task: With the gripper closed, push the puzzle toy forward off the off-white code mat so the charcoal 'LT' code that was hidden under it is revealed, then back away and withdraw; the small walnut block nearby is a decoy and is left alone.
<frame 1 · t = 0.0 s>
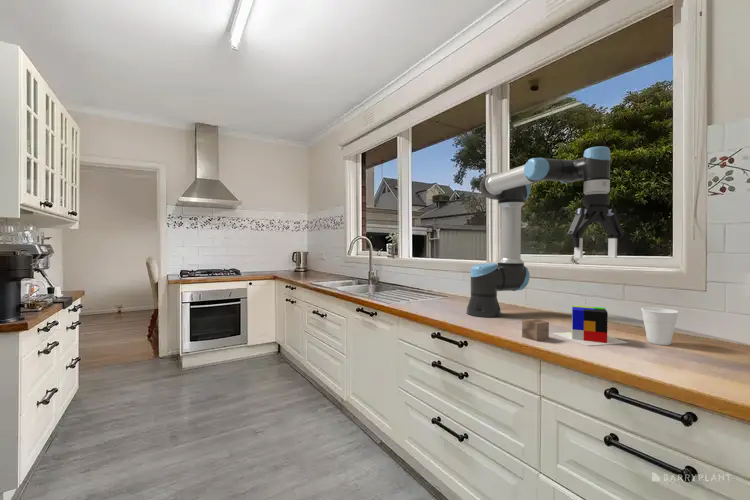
hand: (595, 257, 120), 28 cm above the countertop, fingers open, 13 cm apart
cup: (658, 343, 118), on the countertop
code mat: (588, 338, 124), on the countertop
puzzle toy: (588, 338, 124), resting on code mat
walnut block: (535, 338, 124), on the countertop
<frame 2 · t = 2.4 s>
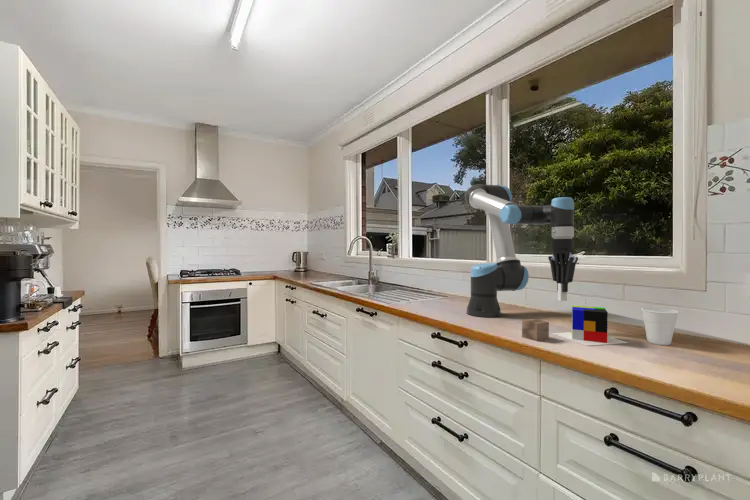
hand: (562, 300, 136), 11 cm above the countertop, fingers closed
nothing on the countertop moved.
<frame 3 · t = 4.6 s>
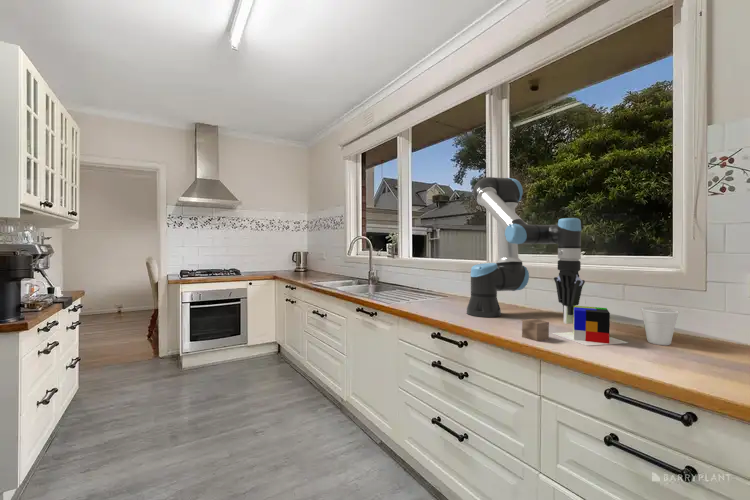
hand: (568, 323, 133), 3 cm above the countertop, fingers closed
puzzle toy: (590, 338, 123), resting on code mat, touching gripper
everything else where it was.
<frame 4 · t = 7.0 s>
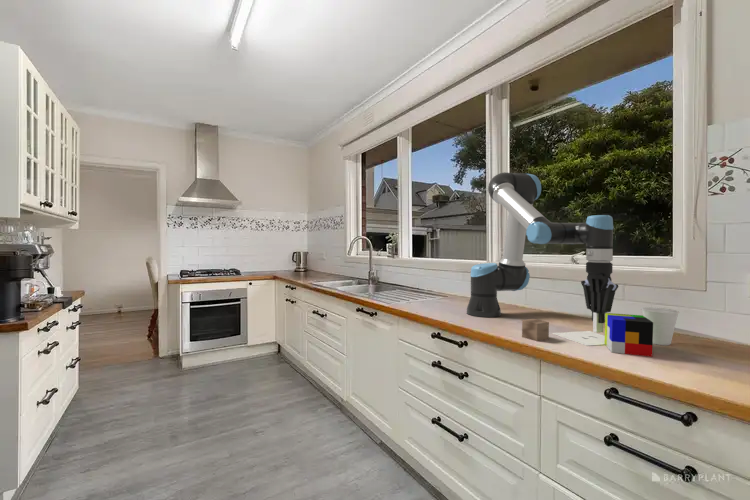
hand: (598, 331, 120), 3 cm above the countertop, fingers closed
puzzle toy: (626, 350, 111), on the countertop, touching gripper
everything else where it was.
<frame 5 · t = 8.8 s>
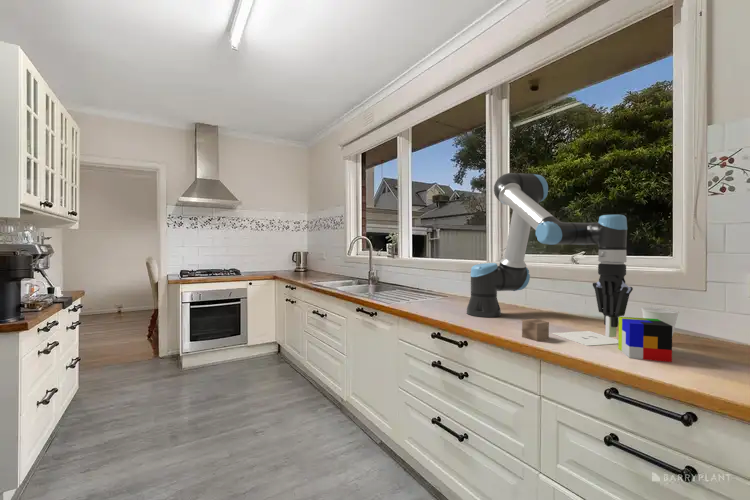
hand: (610, 336, 115), 3 cm above the countertop, fingers closed
puzzle toy: (643, 355, 106), on the countertop, touching gripper
everything else where it was.
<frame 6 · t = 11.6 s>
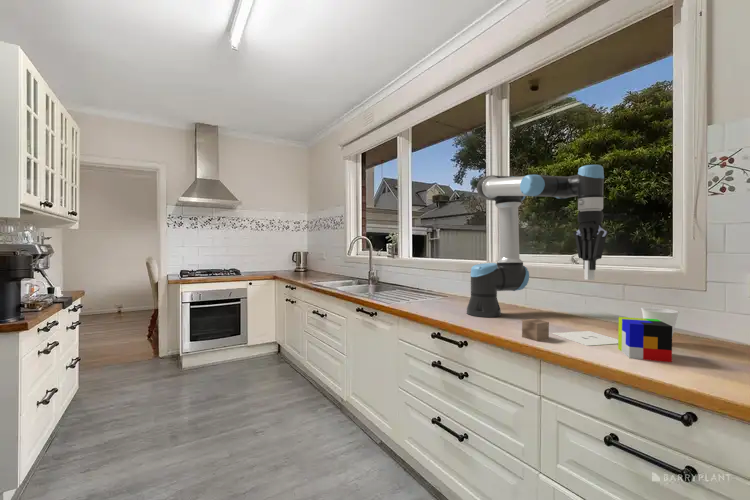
hand: (589, 279, 124), 20 cm above the countertop, fingers closed
puzzle toy: (643, 355, 106), on the countertop
everything else where it was.
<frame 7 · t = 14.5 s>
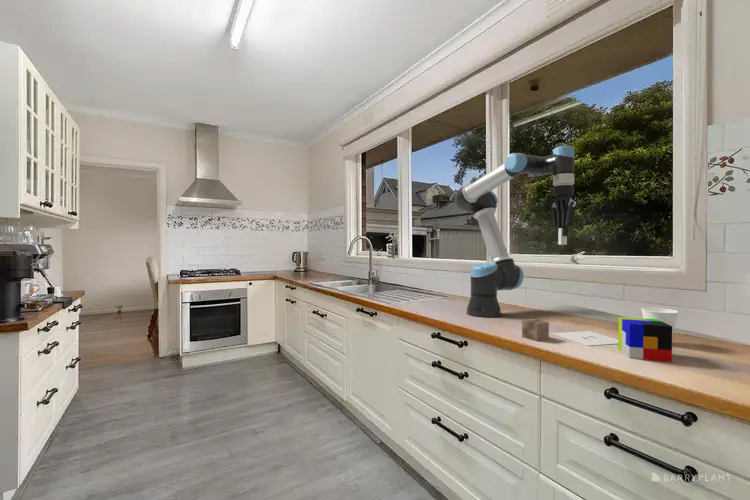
hand: (562, 244, 144), 32 cm above the countertop, fingers closed
nothing on the countertop moved.
at the end: puzzle toy touching countertop; puzzle toy inside the target area (1.2 cm from its centre), on the countertop; puzzle toy tilted 0° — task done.
